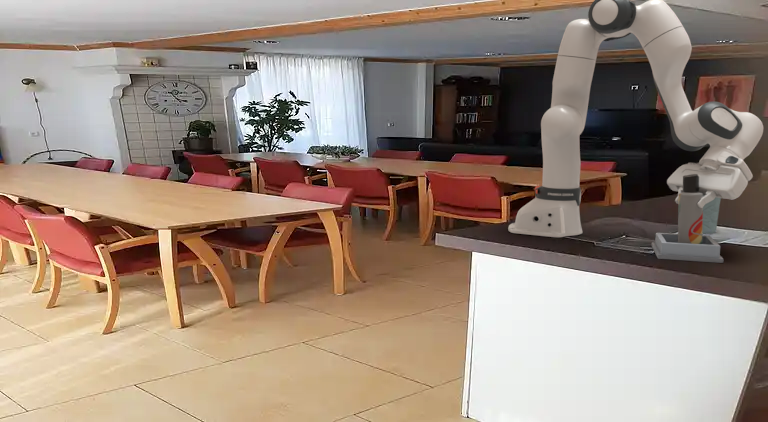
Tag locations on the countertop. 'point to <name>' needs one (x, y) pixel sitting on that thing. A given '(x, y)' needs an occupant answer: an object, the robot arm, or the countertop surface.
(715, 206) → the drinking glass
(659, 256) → the shallow soap dish
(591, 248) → the countertop surface
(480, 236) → the countertop surface
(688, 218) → the lotion bottle
